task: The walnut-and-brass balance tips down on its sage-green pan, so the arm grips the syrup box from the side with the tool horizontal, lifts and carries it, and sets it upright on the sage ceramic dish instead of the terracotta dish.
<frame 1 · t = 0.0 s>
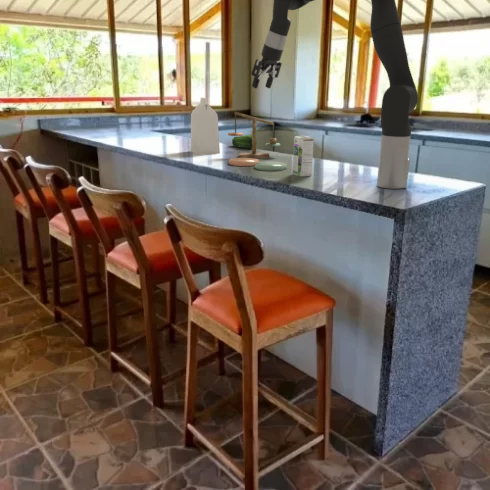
hand: (261, 87, 187), 31 cm above the countertop, tool tilted 20°, fingers open, 8 cm apart
milk: (205, 152, 238), on the countertop
balance: (254, 157, 224), on the countertop
sage dish: (270, 168, 196), on the countertop
syrup box: (302, 175, 182), on the countertop
vegetable: (242, 148, 255), on the countertop
terracotta dish: (243, 163, 206), on the countertop
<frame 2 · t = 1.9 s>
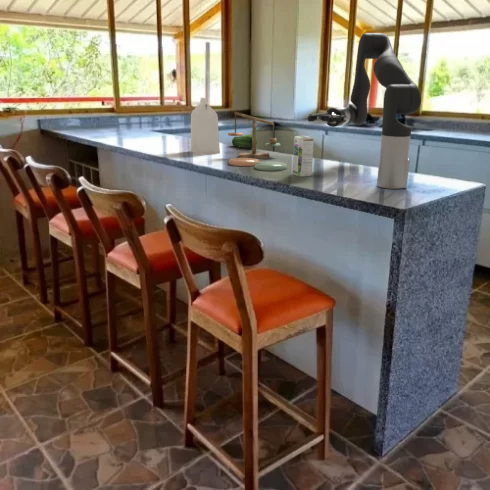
hand: (318, 119, 184), 20 cm above the countertop, tool horizontal, fingers open, 8 cm apart
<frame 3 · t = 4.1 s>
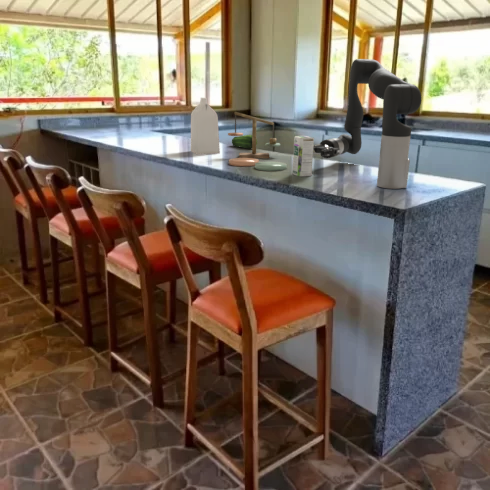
hand: (311, 152, 185), 8 cm above the countertop, tool horizontal, fingers open, 8 cm apart
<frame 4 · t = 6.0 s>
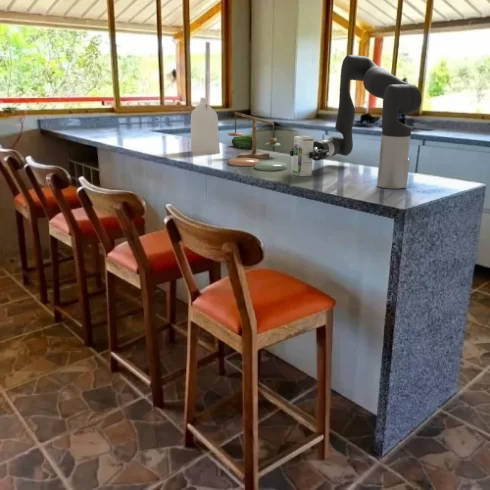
hand: (300, 154, 178), 8 cm above the countertop, tool horizontal, fingers closed on syrup box, 7 cm apart
syrup box: (302, 175, 182), on the countertop, touching gripper
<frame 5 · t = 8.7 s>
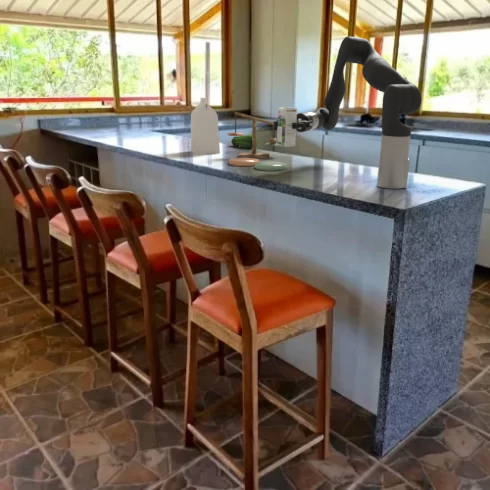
hand: (284, 125, 183), 18 cm above the countertop, tool horizontal, fingers closed on syrup box, 7 cm apart
syrup box: (286, 146, 187), point 10 cm above the countertop, touching gripper
when the fingers open (11 cm above the countertop, at t = 11.4 s): syrup box stays where it is, resting on sage dish.
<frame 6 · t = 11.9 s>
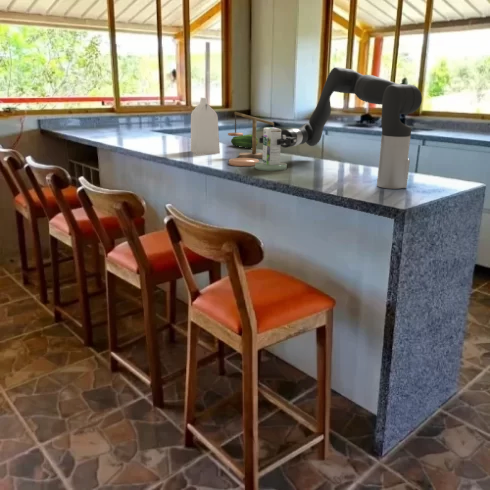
hand: (268, 141, 191), 11 cm above the countertop, tool horizontal, fingers open, 8 cm apart
syrup box: (271, 164, 196), point 1 cm above the countertop, touching sage dish
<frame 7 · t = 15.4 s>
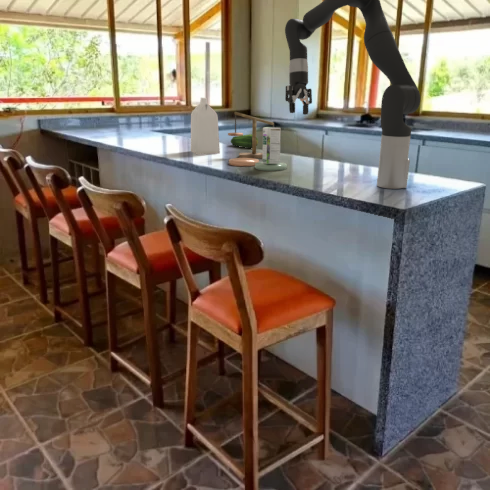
hand: (299, 113, 194), 21 cm above the countertop, tool pointing down, fingers open, 8 cm apart
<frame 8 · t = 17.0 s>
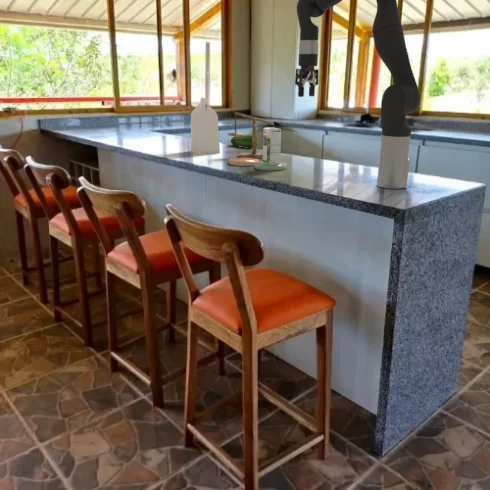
hand: (306, 96, 192), 28 cm above the countertop, tool pointing down, fingers open, 8 cm apart
at the end: syrup box inside the target area on the sage dish (0.1 cm from its centre), point 1.4 cm above the sage dish's base; syrup box tilted 0°; the gripper is holding nothing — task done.
